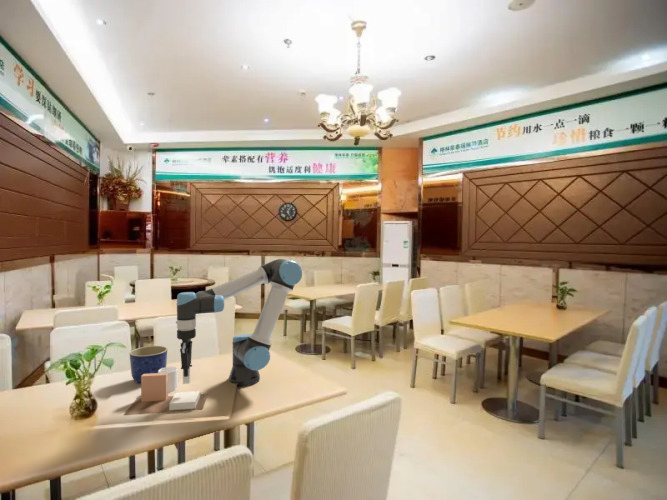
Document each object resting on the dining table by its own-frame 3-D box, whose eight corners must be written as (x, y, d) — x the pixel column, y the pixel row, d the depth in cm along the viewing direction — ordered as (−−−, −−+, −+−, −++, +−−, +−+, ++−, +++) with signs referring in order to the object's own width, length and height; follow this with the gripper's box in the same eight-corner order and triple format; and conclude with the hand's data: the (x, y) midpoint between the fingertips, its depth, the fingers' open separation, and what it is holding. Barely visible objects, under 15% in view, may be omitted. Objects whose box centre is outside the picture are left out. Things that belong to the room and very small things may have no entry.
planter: (170, 382, 185) (170, 352, 185) (131, 390, 176) (131, 358, 175) (164, 372, 199) (164, 344, 199) (127, 378, 190) (127, 349, 189)
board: (208, 396, 169) (208, 393, 169) (202, 412, 154) (202, 409, 154) (137, 400, 164) (137, 398, 164) (123, 418, 148) (123, 415, 148)
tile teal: (199, 391, 165) (195, 401, 154) (199, 398, 165) (195, 409, 154) (175, 392, 163) (169, 403, 152) (175, 399, 163) (169, 411, 152)
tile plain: (167, 397, 165) (167, 372, 165) (166, 400, 162) (165, 375, 162) (143, 398, 164) (143, 373, 163) (141, 401, 161) (141, 376, 160)
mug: (150, 398, 167) (149, 375, 167) (148, 391, 174) (148, 369, 174) (178, 393, 173) (178, 370, 173) (176, 386, 180) (176, 365, 180)
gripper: (180, 325, 166) (180, 377, 167) (173, 332, 154) (173, 389, 154) (198, 324, 168) (198, 377, 168) (192, 332, 155) (192, 388, 156)
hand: (186, 382), depth 161 cm, fingers closed
